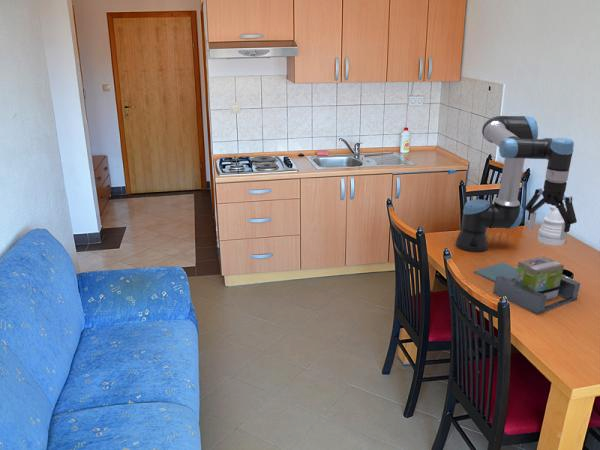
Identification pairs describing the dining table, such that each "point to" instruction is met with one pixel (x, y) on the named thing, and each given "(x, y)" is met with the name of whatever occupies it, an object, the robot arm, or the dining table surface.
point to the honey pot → (551, 228)
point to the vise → (535, 294)
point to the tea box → (540, 275)
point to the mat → (498, 271)
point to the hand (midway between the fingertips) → (546, 234)
